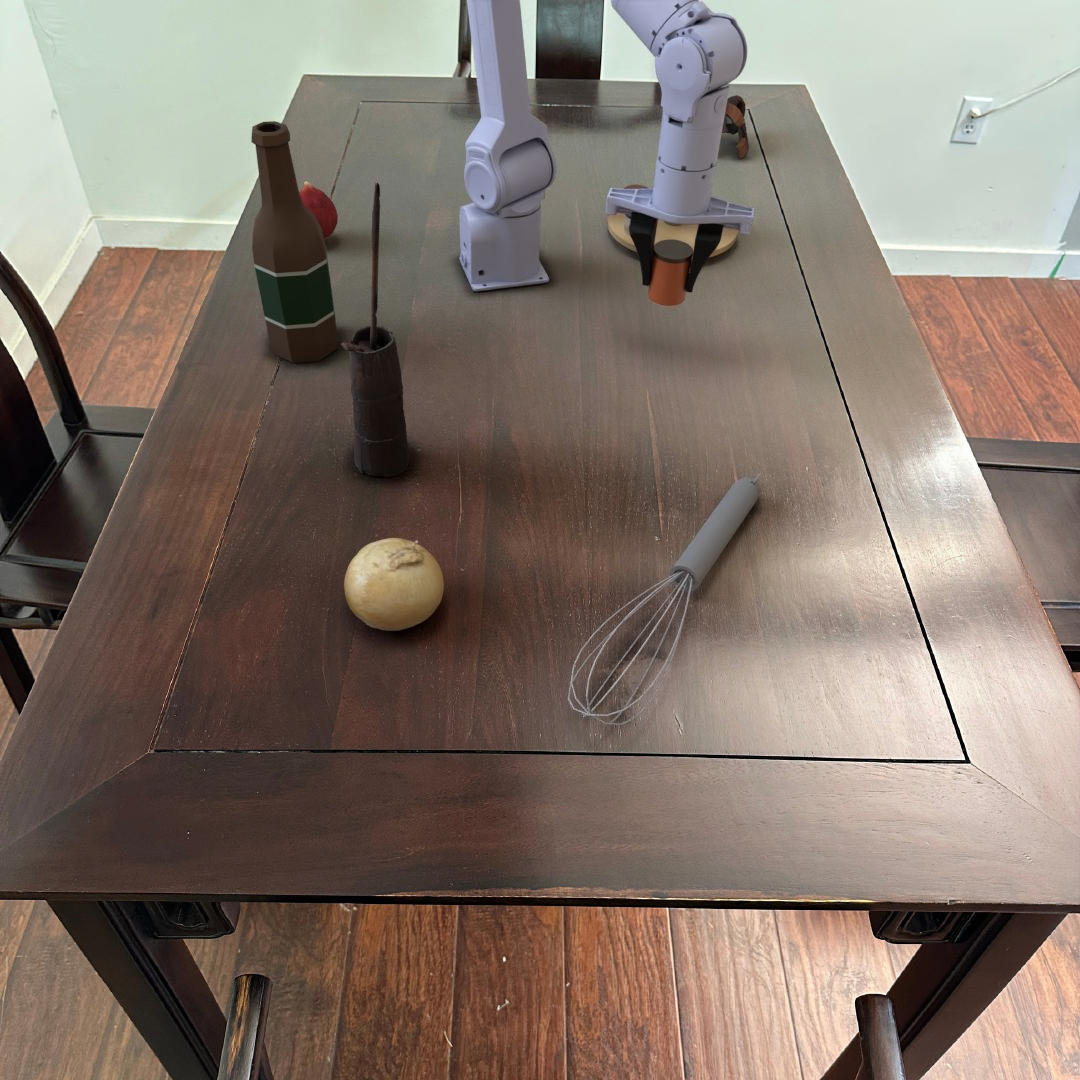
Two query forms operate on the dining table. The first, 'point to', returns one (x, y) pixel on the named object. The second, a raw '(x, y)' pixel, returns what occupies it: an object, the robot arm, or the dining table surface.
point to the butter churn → (377, 386)
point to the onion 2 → (393, 584)
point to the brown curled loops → (736, 122)
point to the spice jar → (669, 272)
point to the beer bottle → (290, 256)
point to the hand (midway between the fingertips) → (668, 284)
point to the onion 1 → (320, 208)
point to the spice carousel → (665, 231)
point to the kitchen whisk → (682, 580)
